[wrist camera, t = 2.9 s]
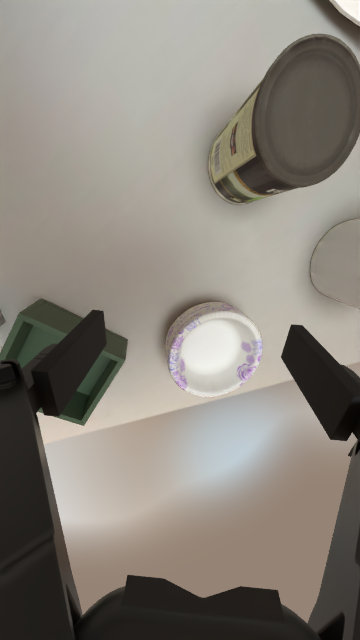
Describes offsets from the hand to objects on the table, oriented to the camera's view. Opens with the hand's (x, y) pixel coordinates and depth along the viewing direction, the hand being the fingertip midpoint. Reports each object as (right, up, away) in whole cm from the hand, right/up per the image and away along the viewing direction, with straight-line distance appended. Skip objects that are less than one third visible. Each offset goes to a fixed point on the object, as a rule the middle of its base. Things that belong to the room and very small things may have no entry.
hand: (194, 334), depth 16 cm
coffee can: (+8, +23, +16) cm, 30 cm away
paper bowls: (+3, -2, +25) cm, 26 cm away
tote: (-20, -5, +22) cm, 30 cm away
